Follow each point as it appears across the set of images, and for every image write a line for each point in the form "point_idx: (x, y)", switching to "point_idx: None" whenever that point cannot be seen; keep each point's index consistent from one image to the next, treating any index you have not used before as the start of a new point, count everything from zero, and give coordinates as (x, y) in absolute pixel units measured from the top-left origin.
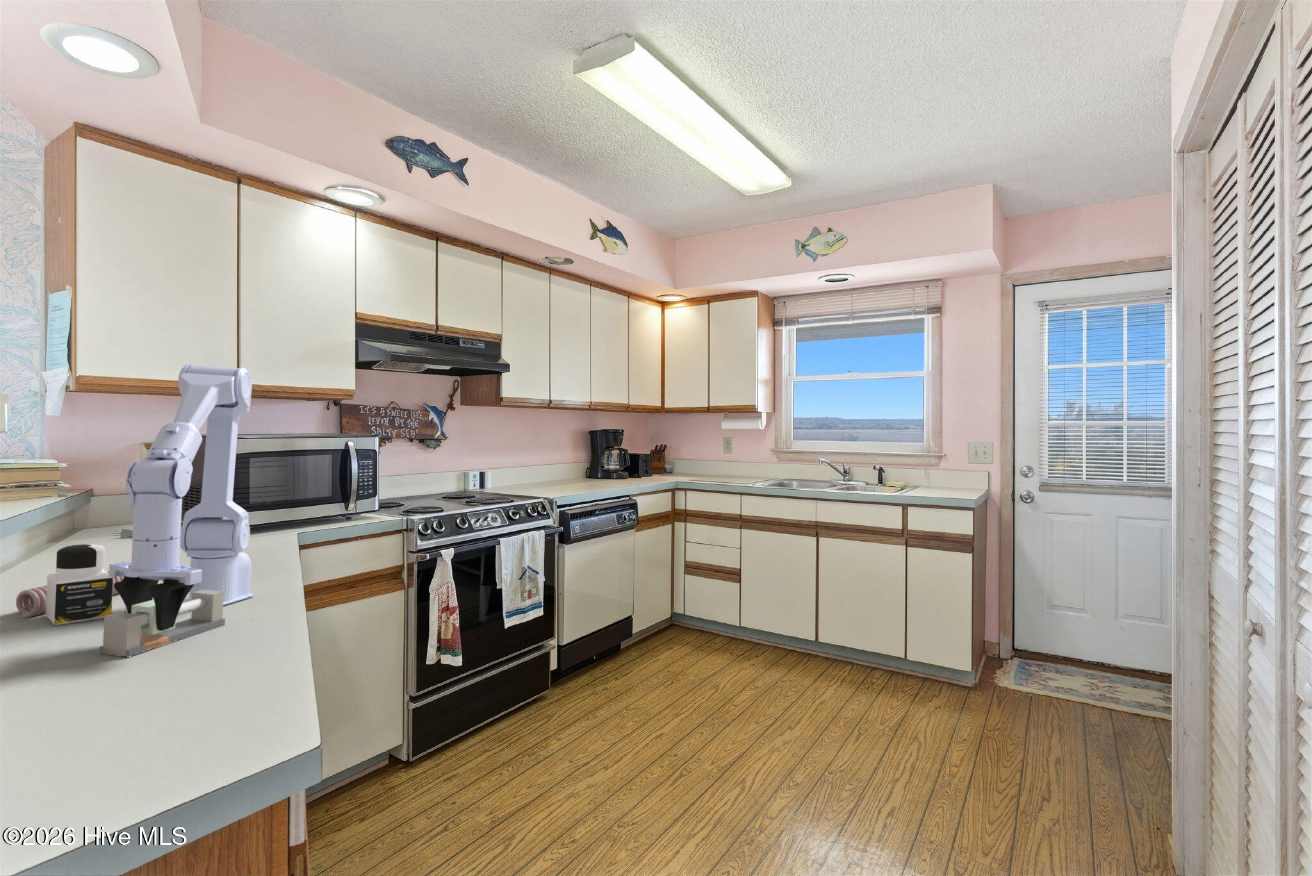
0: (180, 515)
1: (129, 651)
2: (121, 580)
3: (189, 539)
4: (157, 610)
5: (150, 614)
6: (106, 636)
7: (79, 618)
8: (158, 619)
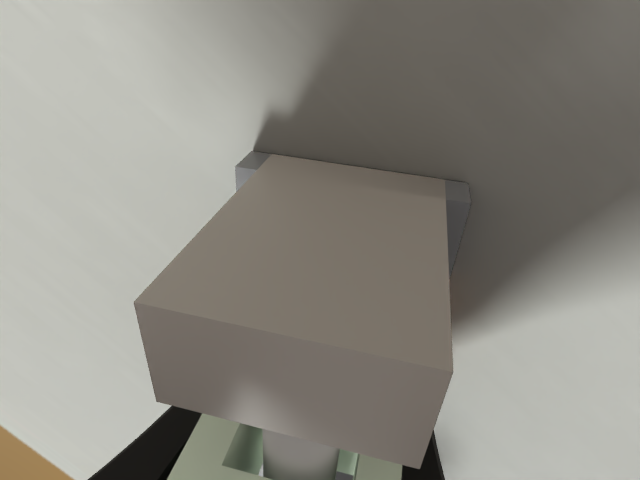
0: None
1: (237, 166)
2: None
3: None
4: (145, 474)
5: (218, 451)
6: (414, 233)
7: None
8: (183, 414)
